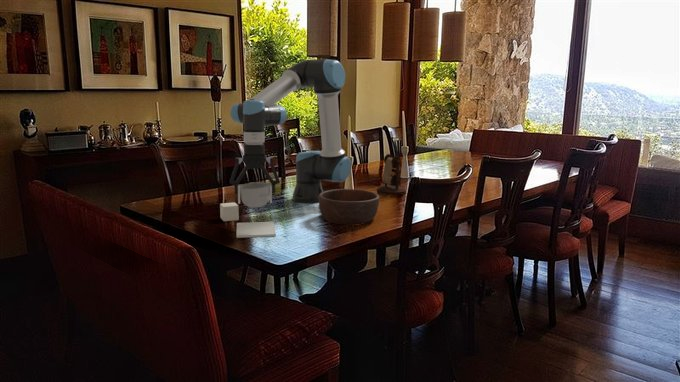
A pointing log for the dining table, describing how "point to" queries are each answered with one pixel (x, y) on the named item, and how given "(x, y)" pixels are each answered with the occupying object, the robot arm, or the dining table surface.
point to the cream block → (229, 211)
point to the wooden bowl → (348, 206)
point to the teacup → (255, 194)
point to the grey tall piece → (391, 176)
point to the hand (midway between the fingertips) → (255, 202)
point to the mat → (255, 229)
